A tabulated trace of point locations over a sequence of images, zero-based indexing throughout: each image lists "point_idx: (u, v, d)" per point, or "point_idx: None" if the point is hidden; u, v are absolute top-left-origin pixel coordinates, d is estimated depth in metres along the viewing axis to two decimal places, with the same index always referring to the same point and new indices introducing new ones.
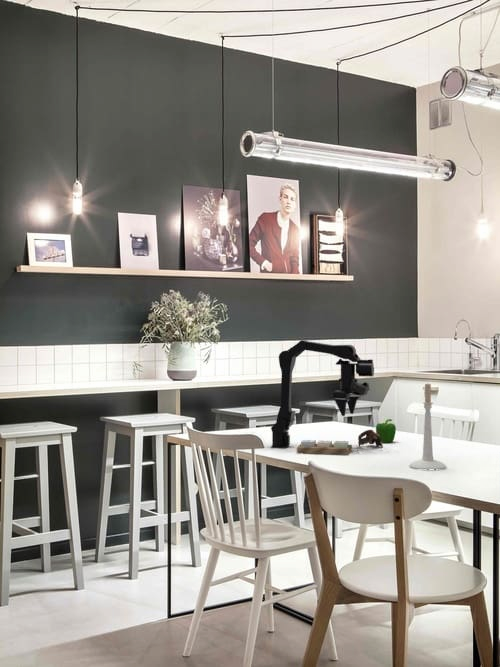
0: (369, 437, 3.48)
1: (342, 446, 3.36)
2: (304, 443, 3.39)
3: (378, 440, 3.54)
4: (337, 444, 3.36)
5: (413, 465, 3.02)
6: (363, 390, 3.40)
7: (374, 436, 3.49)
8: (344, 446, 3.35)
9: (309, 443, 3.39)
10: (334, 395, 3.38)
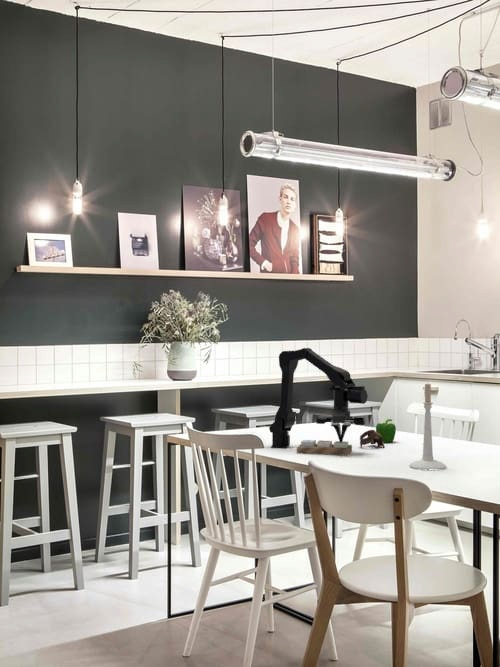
0: (371, 437, 3.48)
1: (342, 446, 3.36)
2: (304, 443, 3.39)
3: (380, 440, 3.53)
4: (337, 444, 3.36)
5: (413, 465, 3.02)
6: (332, 417, 3.31)
7: (376, 436, 3.48)
8: (344, 446, 3.35)
9: (309, 443, 3.39)
10: None
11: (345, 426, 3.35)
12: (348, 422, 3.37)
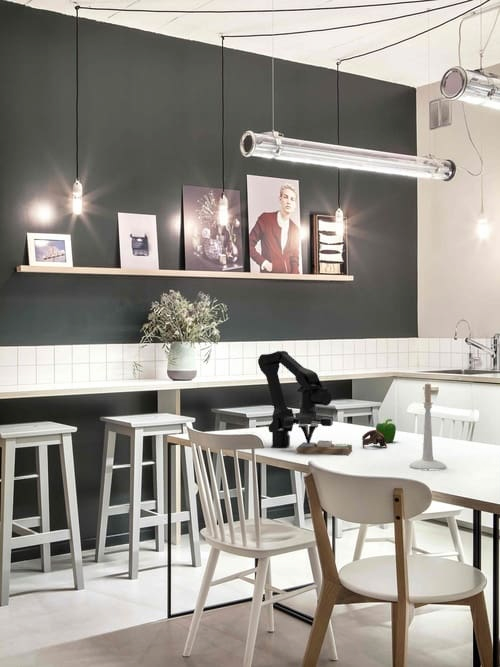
0: (373, 437, 3.47)
1: None
2: (304, 445, 3.39)
3: (382, 440, 3.53)
4: (337, 447, 3.36)
5: (413, 465, 3.02)
6: (299, 419, 3.35)
7: (378, 436, 3.48)
8: None
9: (309, 445, 3.39)
10: None
11: (312, 427, 3.38)
12: (315, 423, 3.40)
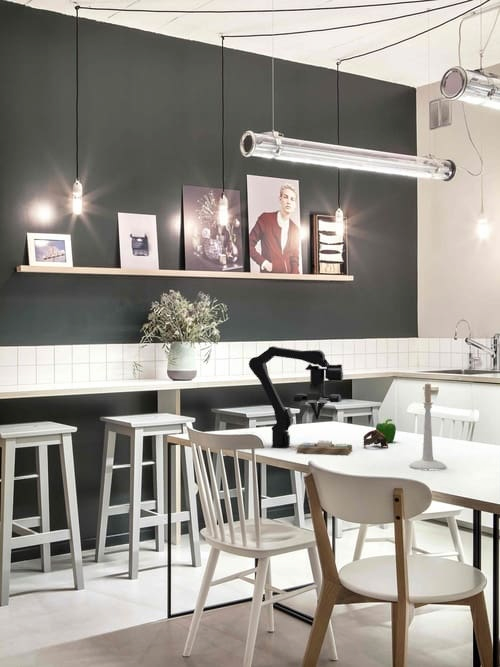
0: (375, 437, 3.47)
1: None
2: None
3: (383, 440, 3.53)
4: (337, 447, 3.36)
5: (413, 465, 3.02)
6: (307, 395, 3.44)
7: (380, 436, 3.48)
8: None
9: (309, 446, 3.39)
10: None
11: (321, 404, 3.48)
12: (324, 400, 3.49)
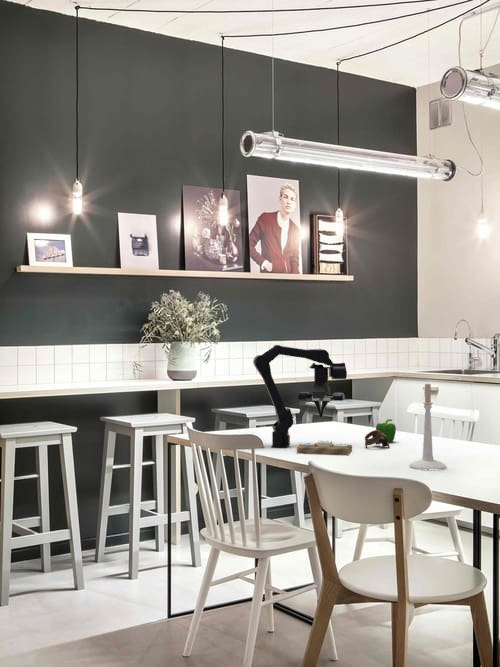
0: (376, 437, 3.47)
1: None
2: None
3: (385, 440, 3.53)
4: (337, 447, 3.36)
5: (413, 465, 3.02)
6: (312, 393, 3.49)
7: (381, 436, 3.48)
8: None
9: (309, 446, 3.39)
10: None
11: (325, 402, 3.53)
12: (328, 398, 3.54)
